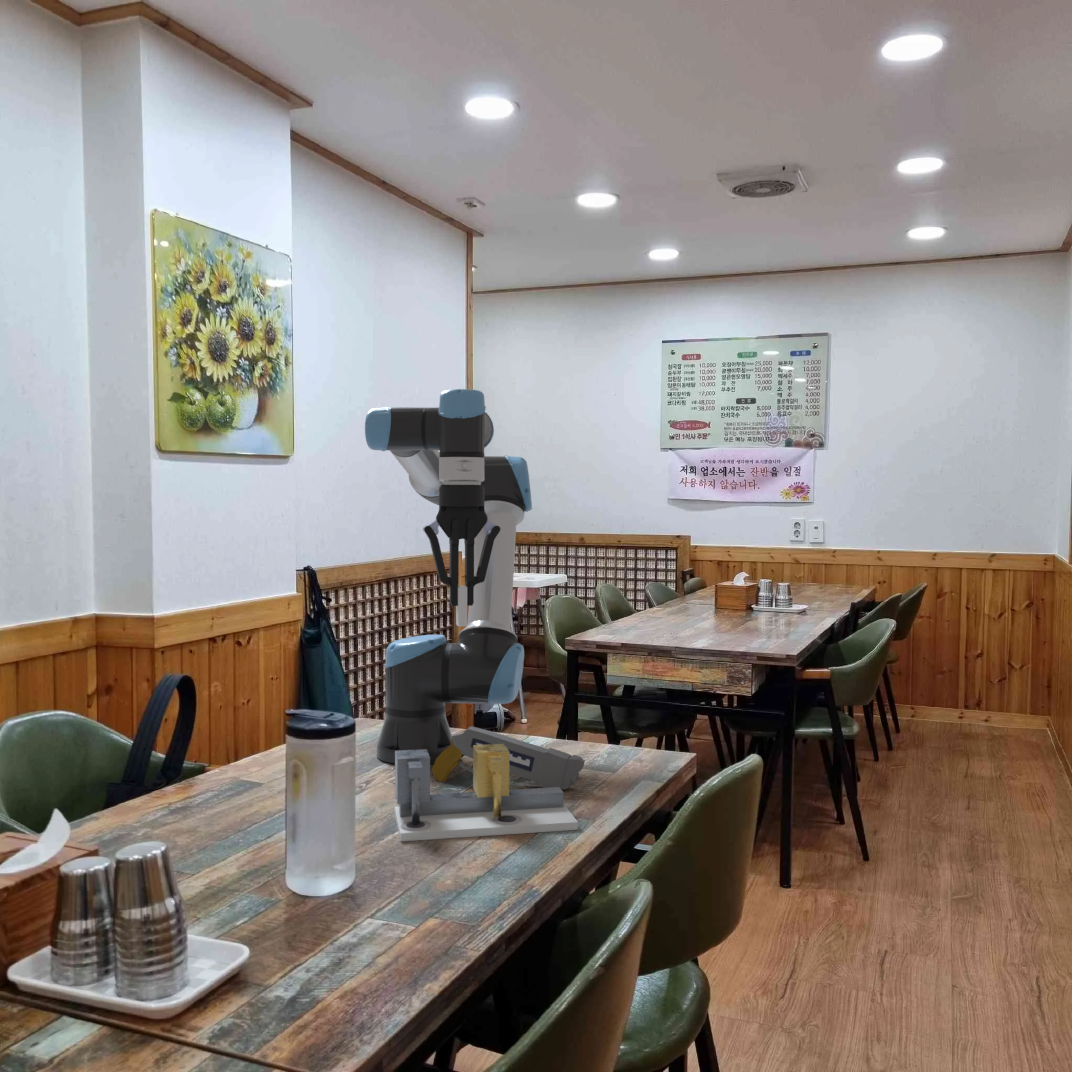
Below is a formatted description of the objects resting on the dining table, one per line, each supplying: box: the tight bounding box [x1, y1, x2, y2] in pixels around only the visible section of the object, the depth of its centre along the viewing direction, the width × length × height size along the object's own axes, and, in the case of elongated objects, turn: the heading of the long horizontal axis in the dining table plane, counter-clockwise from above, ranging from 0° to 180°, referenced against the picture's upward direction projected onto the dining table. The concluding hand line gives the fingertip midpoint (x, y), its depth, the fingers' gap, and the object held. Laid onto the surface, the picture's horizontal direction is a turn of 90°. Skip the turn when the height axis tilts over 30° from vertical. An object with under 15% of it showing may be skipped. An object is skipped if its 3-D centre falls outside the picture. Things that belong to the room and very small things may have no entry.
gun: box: [431, 725, 586, 791], centre depth 177 cm, size 3×25×15 cm, turn 76°
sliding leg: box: [472, 744, 510, 817], centre depth 158 cm, size 9×5×9 cm, turn 12°
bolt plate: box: [394, 803, 579, 842], centre depth 157 cm, size 13×27×1 cm, turn 102°
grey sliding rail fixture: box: [394, 749, 565, 824], centre depth 158 cm, size 9×26×9 cm, turn 102°
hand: (461, 625), depth 168 cm, fingers closed
